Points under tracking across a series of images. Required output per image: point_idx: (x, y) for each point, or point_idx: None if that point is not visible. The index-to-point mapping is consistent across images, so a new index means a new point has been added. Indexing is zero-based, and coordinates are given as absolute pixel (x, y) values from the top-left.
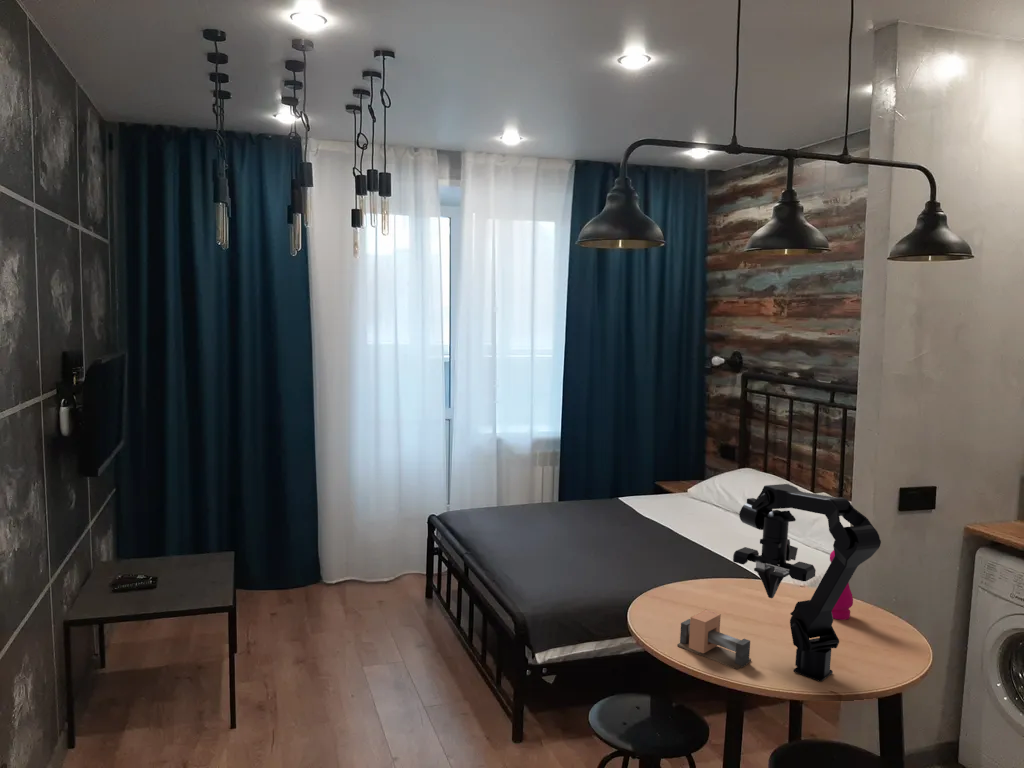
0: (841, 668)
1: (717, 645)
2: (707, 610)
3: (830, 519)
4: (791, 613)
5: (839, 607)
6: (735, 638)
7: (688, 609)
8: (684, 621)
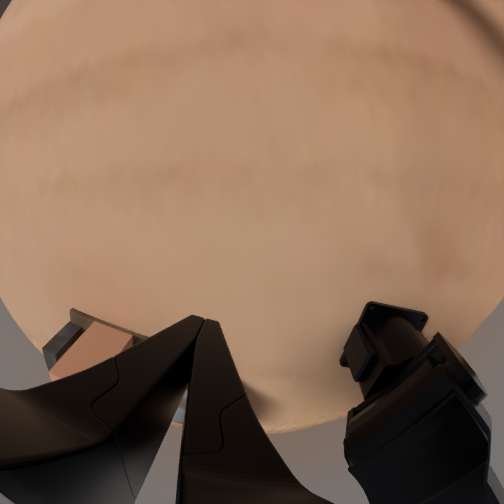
0: (446, 271)
1: (132, 340)
2: (55, 378)
3: None
4: (353, 473)
5: None
6: (178, 409)
7: (9, 136)
8: (47, 366)
